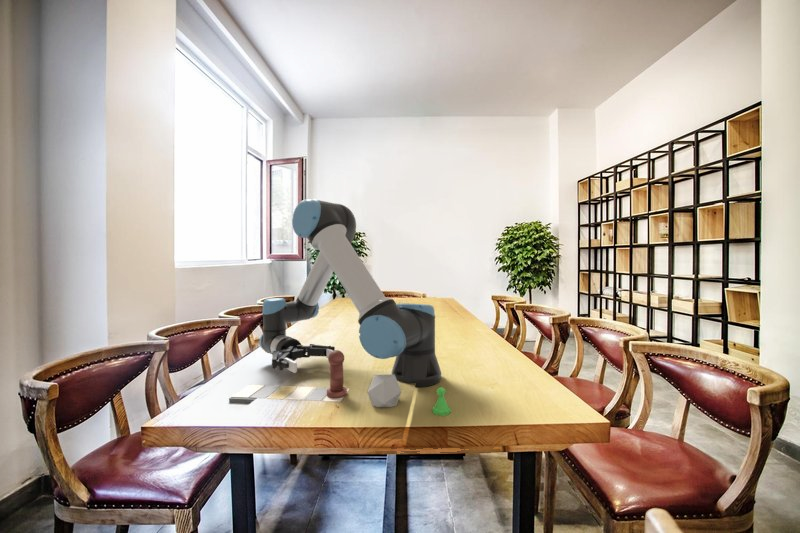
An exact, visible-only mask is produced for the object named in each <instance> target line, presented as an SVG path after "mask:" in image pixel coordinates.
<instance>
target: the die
mask: <svg viewBox="0 0 800 533" xmlns="http://www.w3.org/2000/svg"><path fill="white" fill-rule="evenodd" d="M398 382H399V381H397V379H396V377H395V374H393V375H392V374H374V375H373V378H372V380H371V383H370V385H369V387H368V390H367V395H368V398H369V400H370V402H371V405H372V406H373V407H376V408H392V407H394V406H397V405H398V403H399V399H400V396H401V394H402V390H401V387H400V385H399V383H398Z"/></svg>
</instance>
